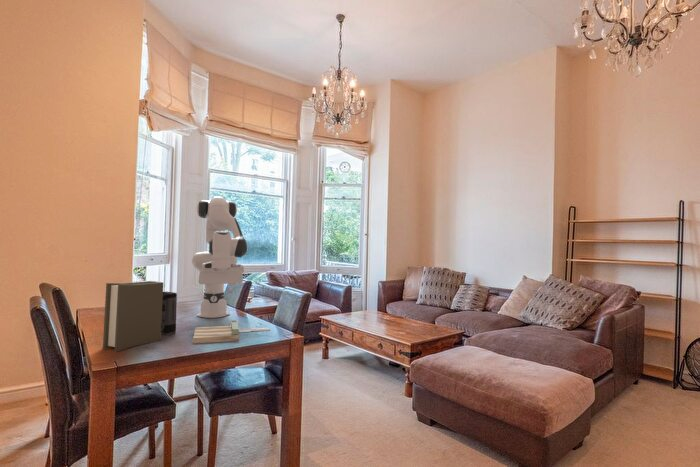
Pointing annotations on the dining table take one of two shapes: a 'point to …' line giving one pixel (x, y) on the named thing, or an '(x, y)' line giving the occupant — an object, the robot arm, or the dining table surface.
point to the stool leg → (234, 327)
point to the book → (132, 314)
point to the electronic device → (169, 313)
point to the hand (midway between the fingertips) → (220, 293)
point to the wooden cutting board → (219, 334)
